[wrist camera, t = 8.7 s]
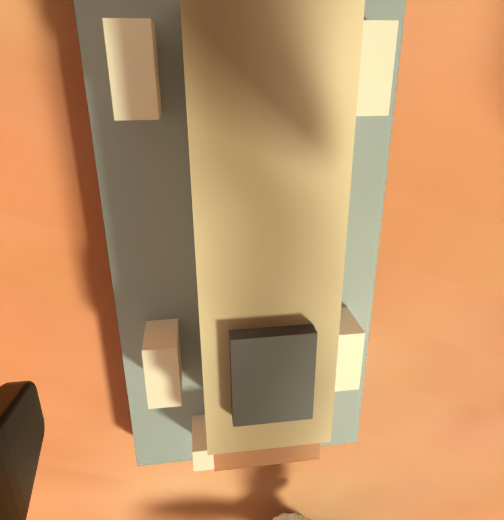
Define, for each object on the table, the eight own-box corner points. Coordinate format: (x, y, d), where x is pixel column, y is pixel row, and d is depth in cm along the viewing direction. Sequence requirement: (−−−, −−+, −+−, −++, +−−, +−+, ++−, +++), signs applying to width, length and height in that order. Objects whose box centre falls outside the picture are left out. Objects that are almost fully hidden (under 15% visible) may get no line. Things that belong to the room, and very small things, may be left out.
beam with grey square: (313, 4, 14) (376, -28, 9) (298, 384, 19) (333, 481, 15) (180, 2, 13) (177, -32, 9) (203, 392, 19) (210, 496, 14)
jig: (401, -143, 14) (465, -205, 11) (346, 419, 22) (373, 477, 19) (62, -161, 13) (20, -238, 10) (140, 440, 21) (132, 506, 18)
